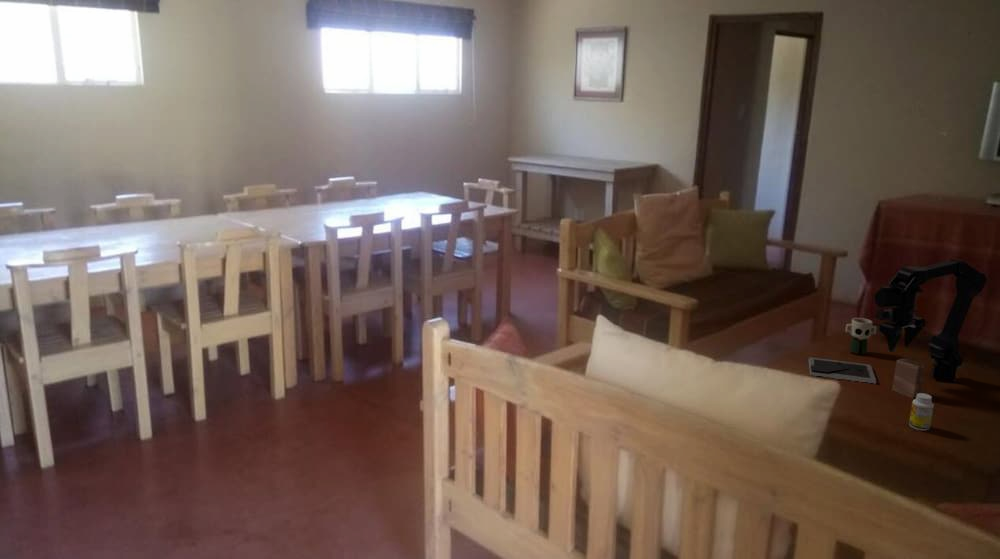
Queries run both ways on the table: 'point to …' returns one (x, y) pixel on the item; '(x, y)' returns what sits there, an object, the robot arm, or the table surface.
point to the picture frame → (841, 370)
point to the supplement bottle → (921, 412)
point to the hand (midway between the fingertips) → (898, 348)
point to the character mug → (860, 334)
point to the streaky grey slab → (908, 377)
